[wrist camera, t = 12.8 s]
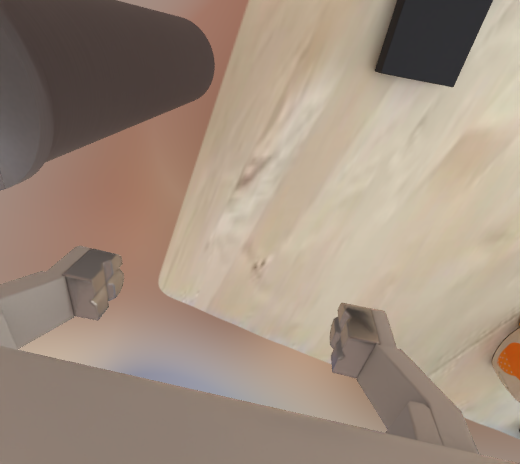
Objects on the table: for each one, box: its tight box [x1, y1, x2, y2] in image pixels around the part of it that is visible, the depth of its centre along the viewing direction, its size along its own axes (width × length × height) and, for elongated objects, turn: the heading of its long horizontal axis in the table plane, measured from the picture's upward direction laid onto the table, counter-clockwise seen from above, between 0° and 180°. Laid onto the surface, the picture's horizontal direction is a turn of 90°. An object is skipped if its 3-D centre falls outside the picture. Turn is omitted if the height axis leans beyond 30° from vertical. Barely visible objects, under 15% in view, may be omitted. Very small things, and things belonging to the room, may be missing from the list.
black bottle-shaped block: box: [375, 0, 493, 87], centre depth 23 cm, size 6×11×3 cm, turn 171°
